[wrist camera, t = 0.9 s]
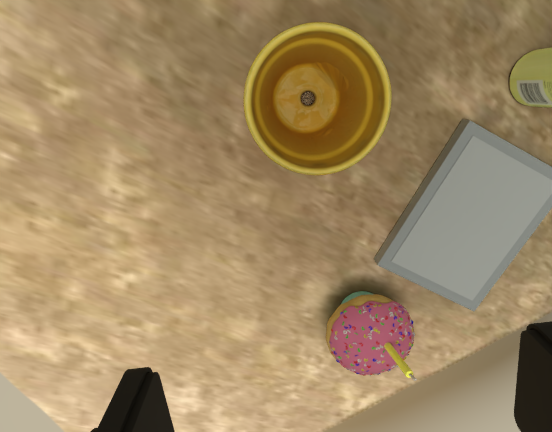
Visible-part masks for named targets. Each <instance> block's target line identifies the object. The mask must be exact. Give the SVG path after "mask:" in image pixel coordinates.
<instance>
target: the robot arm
mask: <svg viewBox="0 0 552 432" xmlns="http://www.w3.org/2000/svg"><path fill="white" fill-rule="evenodd" d="M514 417H515V421H516V423H517V426H518V427H519V429H520V431H521V432H552V322H544V323H534V324H529V325H528V326H527V330H526V331H522V333H521V338H520V349H519V361H518V372H517V384H516V395H515V406H514ZM91 432H174V428H173V424H172V420H171V417H170V413H169V409H168V406H167V402H166V398H165V394H164V391H163V387H162V383H161V380H160V376H159V374H158V372H152V370H151V368H149V367H145V368H136V369H128V370H126V371H125V373H124V375H123V377H122V379H121V381H120V383H119V385H118V387H117V389H116V391H115V393H114V395H113V398H112V400H111V402H110V404H109V406H108V408H107V410H106V412H105V414H104V416H103V418H102V420H101V422H100V424H99V426H98V428H94V429H93V430H92V431H91Z"/></svg>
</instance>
